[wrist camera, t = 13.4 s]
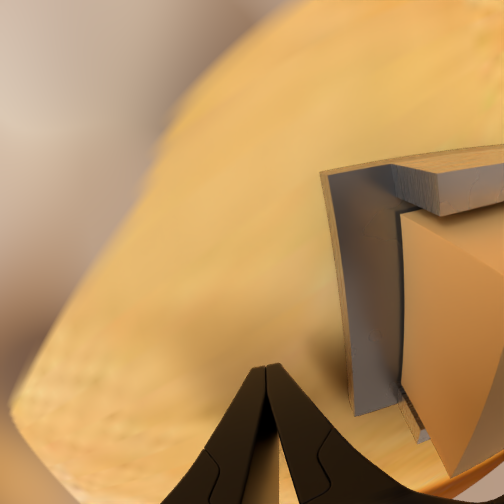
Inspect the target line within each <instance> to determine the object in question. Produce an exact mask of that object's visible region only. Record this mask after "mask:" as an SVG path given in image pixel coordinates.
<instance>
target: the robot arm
mask: <svg viewBox="0 0 504 504" xmlns="http://www.w3.org/2000/svg"><path fill="white" fill-rule="evenodd" d="M279 438H280V441H281V445H282V448H283V452H284V455H285V458H286V462H287V465H288V468H289V472H290V475H291V478H292V481H293V485H294V488H295V491H296V494H297V498H298V501H299V504H504V495H502V496H500V497H498V498H496V499H494V500H490V501H487V502H480V503H474V502H465V501H459V500H453V499H448V498H442V497H437V496H433V495H428V494H424V493H419V492H416V491H413V490H411V489H409V488H407V487H405V486H403V485H401V484H400V483H399V482H397V481H396V480H394V479H393V478H392V477H390V476H389V475H388V474H386V473H385V472H384V471H382V470H381V469H380V468H378V467H377V466H376V465H374V464H373V463H372V462H370V461H369V460H368V459H367V458H365V457H364V456H363V455H362V454H361V453H359V452H358V451H357V450H356V449H355V448H354V447H353V446H352V445H351V444H350V443H349V442H348V441H347V440H346V439H345V438H344V437H343V436H342V435H341V434H340V433H339V432H338V431H337V429H336V428H334V426H333V425H332V424H331V423H330V422H329V420H328V419H327V418H326V417H325V416H324V415H323V414H322V412H321V411H320V410H319V409H318V408H317V407H316V405H315V404H314V403H313V402H312V401H311V400H310V398H309V397H308V396H307V395H306V394H305V393H304V391H303V390H302V389H301V388H300V387H299V385H298V384H297V383H296V382H295V381H294V379H293V378H292V377H291V376H290V375H289V373H288V372H287V371H286V370H285V369H284V367H283V366H282V365H281V364H280V363H275V364H270V365H267V366H266V367H265V366H260V367H255V368H252V369H251V370H250V372H249V374H248V375H247V377H246V379H245V381H244V382H243V384H242V386H241V387H240V389H239V391H238V393H237V394H236V396H235V398H234V399H233V401H232V403H231V404H230V406H229V408H228V409H227V411H226V413H225V414H224V416H223V418H222V419H221V421H220V423H219V424H218V426H217V427H216V429H215V431H214V432H213V434H212V436H211V437H210V439H209V440H208V442H207V444H206V445H205V447H204V449H203V450H202V451H201V453H200V454H199V456H198V458H197V459H196V461H195V462H194V463H193V465H192V466H191V468H190V469H189V471H188V472H187V473H186V474H185V476H184V477H183V478H182V479H181V481H180V482H179V483H178V484H177V485H176V487H175V488H174V489H173V490H172V491H171V492H170V493H169V495H168V496H167V497H166V498H165V499H164V500H163V501H162V502H161V503H160V504H279Z"/></svg>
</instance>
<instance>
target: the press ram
mask: <svg viewBox="0 0 504 504" xmlns="http://www.w3.org/2000/svg"><path fill="white" fill-rule="evenodd" d="M400 217H401V229H402V243H403V260H404V295H405V314H404V348H403V366H402V379H401V384H402V386H403V388H404V390H405V392H406V393H407V395H408V397H409V399H410V401H411V403H412V404H413V406H414V408H415V410H416V412H417V414H418V416H419V417H420V419H421V421H422V423H423V425H424V427H425V429H426V431H427V433H428V435H429V436H430V438H431V440H432V442H433V444H434V446H435V448H436V450H437V452H438V454H439V456H440V458H441V460H442V462H443V464H444V466H445V468H446V471H447V473H448V475H449V477H450V479H451V478H453V477H455V476H457V475H459V474H461V473H463V472H465V471H466V470H468V469H470V468H472V467H474V466H476V465H478V464H479V463H481V462H483V461H485V460H486V459H488V458H490V457H491V456H493V455H495V454H496V453H498V452H500V451H501V450H503V449H504V201H502V202H498V203H494V204H490V205H486V206H482V207H478V208H474V209H470V210H466V211H462V212H457V213H453V214H449V215H445V216H441V217H440V216H438V215H436V214H434V213H432V212H429V211H427V210H425V209H421V210H416V211H412V212H407V213H403V214H400Z"/></svg>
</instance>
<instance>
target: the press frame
mask: <svg viewBox="0 0 504 504" xmlns="http://www.w3.org/2000/svg"><path fill="white" fill-rule="evenodd" d="M320 177H321V183H322V188H323V193H324V198H325V204H326V210H327V215H328V221H329V227H330V233H331V239H332V246H333V252H334V259H335V266H336V273H337V280H338V288H339V296H340V304H341V313H342V322H343V331H344V341H345V352H346V363H347V376H348V390H349V402H350V405H351V408H352V411H353V414H354V416H355V417H356V416H359V415H363V414H366V413H369V412H372V411H376V410H379V409H382V408H385V407H388V406H391V405H394V404H398V406H399V408H400V410H401V412H402V414H403V416H404V418H405V420H406V422H407V424H408V426H409V428H410V430H411V432H412V434H413V437H414V439H415V441H416V443H417V444H419V443H422V442H424V441H427V440H429V439H431V438H430V436H429V435H428V433H427V431H426V429H425V427H424V425H423V423H422V421H421V419H420V417H419V416H418V414H417V412H416V410H415V408H414V406H413V404H412V403H411V401H410V399H409V397H408V395H407V393H406V392H405V390H404V388H403V386H402V384H401V379H402V366H403V348H404V314H405V295H404V260H403V243H402V229H401V217H400V214H403V213H407V212H412V211H416V210H421V209H425V210H427V211H429V212H432V213H434V214H436V215H438V216H440V217H441V216H445V215H449V214H453V213H457V212H462V211H466V210H470V209H474V208H478V207H482V206H486V205H490V204H494V203H498V202H502V201H504V144H501V145H491V146H481V147H472V148H464V149H456V150H448V151H440V152H433V153H426V154H419V155H412V156H406V157H400V158H393V159H387V160H381V161H375V162H370V163H364V164H359V165H353V166H348V167H342V168H337V169H332V170H327V171H322V172H320Z"/></svg>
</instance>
